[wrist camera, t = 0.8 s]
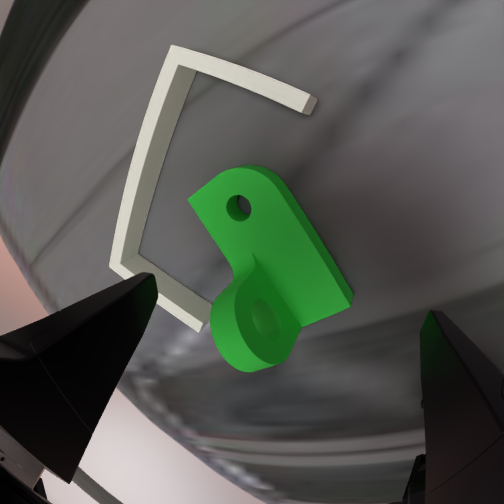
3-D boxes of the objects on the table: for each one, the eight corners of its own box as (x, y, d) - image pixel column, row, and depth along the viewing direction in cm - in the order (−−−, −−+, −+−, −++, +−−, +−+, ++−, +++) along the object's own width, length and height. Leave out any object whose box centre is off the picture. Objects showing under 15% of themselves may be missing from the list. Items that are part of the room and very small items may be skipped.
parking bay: (318, 99, 18) (310, 94, 16) (212, 317, 27) (198, 332, 25) (191, 51, 19) (171, 44, 17) (126, 257, 29) (109, 266, 27)
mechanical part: (353, 293, 22) (337, 364, 15) (287, 321, 25) (249, 389, 18) (262, 148, 21) (201, 157, 14) (201, 194, 24) (130, 223, 17)
